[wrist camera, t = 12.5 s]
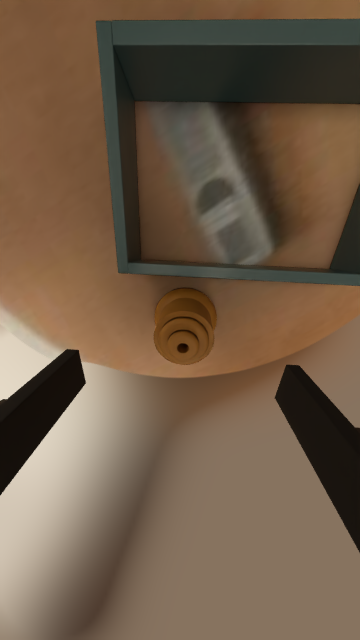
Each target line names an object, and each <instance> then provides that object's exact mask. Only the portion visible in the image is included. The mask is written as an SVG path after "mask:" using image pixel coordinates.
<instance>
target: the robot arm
mask: <svg viewBox="0 0 360 640" xmlns="http://www.w3.org/2000/svg"><path fill="white" fill-rule="evenodd" d="M85 384H86V381H85V377H84V373H83V368H82V364H81V359H80V355H79V350H71V349H67V350H65V351H64V352H63V353H62V354H61V355H59V356H58V357H57V358H56V359H55V360H53V361H52V362H51V363H50V364H49V365H47V366H46V367H45V368H44V369H43V370H41V371H40V372H39V373H38V374H37V375H36V376H35V377H33V378H32V379H31V380H30V381H28V382H27V383H26V384H25V385H24V386H23V387H21V388H20V389H19V390H18V391H16V392H15V393H14V394H13V395H12V396H10V397H9V398H8V399H3V400H1V401H0V495H1V494H2V492H3V491H4V490H5V488H6V487H7V486H8V484H9V483H10V482H11V481H12V479H13V478H14V477H15V475H16V474H17V473H18V471H19V470H20V469H21V467H22V466H23V465H24V463H25V462H26V461H27V460H28V458H29V457H30V456H31V454H32V453H33V452H34V450H35V449H36V448H37V446H38V445H39V444H40V443H41V441H42V440H43V439H44V437H45V436H46V435H47V433H48V432H49V431H50V429H51V428H52V427H53V425H54V424H55V423H56V422H57V420H58V419H59V418H60V416H61V415H62V414H63V412H64V411H65V410H66V408H67V407H68V406H69V405H70V403H71V402H72V401H73V399H74V398H75V397H76V395H77V394H78V393H79V391H80V390H81V389H82V387H83V386H84V385H85ZM275 399H276V401H277V403H278V404H279V406H280V408H281V410H282V412H283V414H284V415H285V417H286V419H287V421H288V423H289V425H290V426H291V428H292V430H293V432H294V433H295V435H296V437H297V439H298V441H299V443H300V444H301V446H302V448H303V450H304V452H305V454H306V456H307V457H308V459H309V461H310V463H311V464H312V466H313V468H314V470H315V472H316V474H317V475H318V477H319V479H320V481H321V483H322V485H323V486H324V488H325V490H326V492H327V494H328V496H329V497H330V499H331V501H332V503H333V505H334V506H335V508H336V510H337V512H338V514H339V515H340V517H341V519H342V521H343V523H344V525H345V527H346V528H347V530H348V532H349V534H350V536H351V538H352V539H353V541H354V543H355V545H356V546H357V548H358V550H359V552H360V428H355V427H354V426H353V425H352V424H351V423H350V422H349V421H348V419H347V418H346V417H345V416H344V415H343V414H342V413H341V412H340V411H339V409H338V408H337V407H336V406H335V405H334V404H333V403H332V402H331V401H330V399H329V398H328V397H327V396H326V395H325V394H324V393H323V392H322V390H320V388H319V387H318V386H317V385H316V384H315V383H314V382H313V381H312V379H311V378H310V377H309V376H308V375H307V374H306V373H305V372H304V370H303V369H302V368H301V367H300V366H298V365H286V367H285V370H284V373H283V376H282V378H281V381H280V384H279V387H278V390H277V393H276V396H275Z"/></svg>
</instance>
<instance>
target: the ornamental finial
mask: <svg viewBox="0 0 360 640" xmlns="http://www.w3.org/2000/svg"><path fill="white" fill-rule="evenodd" d="M216 321H217V315H216V310H215V307H214V305H213V303H212V301H211V300H210V299H209V298H208V297H207V296H206V295H205V294H203V293H202V292H200V291H198V290H195V289H191V288H180V289H176V290H173V291H171V292H169V293H168V294H166V295H165V296H164V297H163V298H162V299H161V300H160V302H159V303H158V305H157V307H156V311H155V325H156V328H155V331H154V343H155V346H156V349H157V350H158V352H159V353H160V354H161V355H162V356H163V357H164V358H165V359H167V360H168V361H170V362H173V363H176V364H182V365H188V364H193V363H196V362H199V361H201V360H202V359H204V358H205V357H206V356H207V355H208V354H209V353H210V351H211V350H212V347H213V344H214V332H213V331H214V329H215V326H216Z"/></svg>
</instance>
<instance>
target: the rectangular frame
mask: <svg viewBox="0 0 360 640" xmlns="http://www.w3.org/2000/svg"><path fill="white" fill-rule="evenodd" d="M96 29H97V40H98V52H99V63H100V74H101V85H102V96H103V107H104V118H105V130H106V141H107V152H108V163H109V174H110V185H111V196H112V208H113V219H114V230H115V241H116V252H117V263H118V273H127V274H128V273H129V274H145V275H164V276H183V277H201V278H220V279H239V280H258V281H276V282H295V283H314V284H333V285H351V286H360V185H359V188H358V191H357V194H356V197H355V199H354V202H353V205H352V208H351V211H350V213H349V216H348V219H347V222H346V224H345V227H344V230H343V233H342V236H341V238H340V241H339V244H338V247H337V250H336V252H335V255H334V258H333V261H332V264H331V266H330V269H317V268H297V267H277V266H257V265H237V264H217V263H197V262H177V261H157V260H141V251H140V227H139V202H138V177H137V153H136V128H135V103H134V100H135V101H192V102H270V103H348V104H360V19H261V20H112V22H111V21H96Z"/></svg>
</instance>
